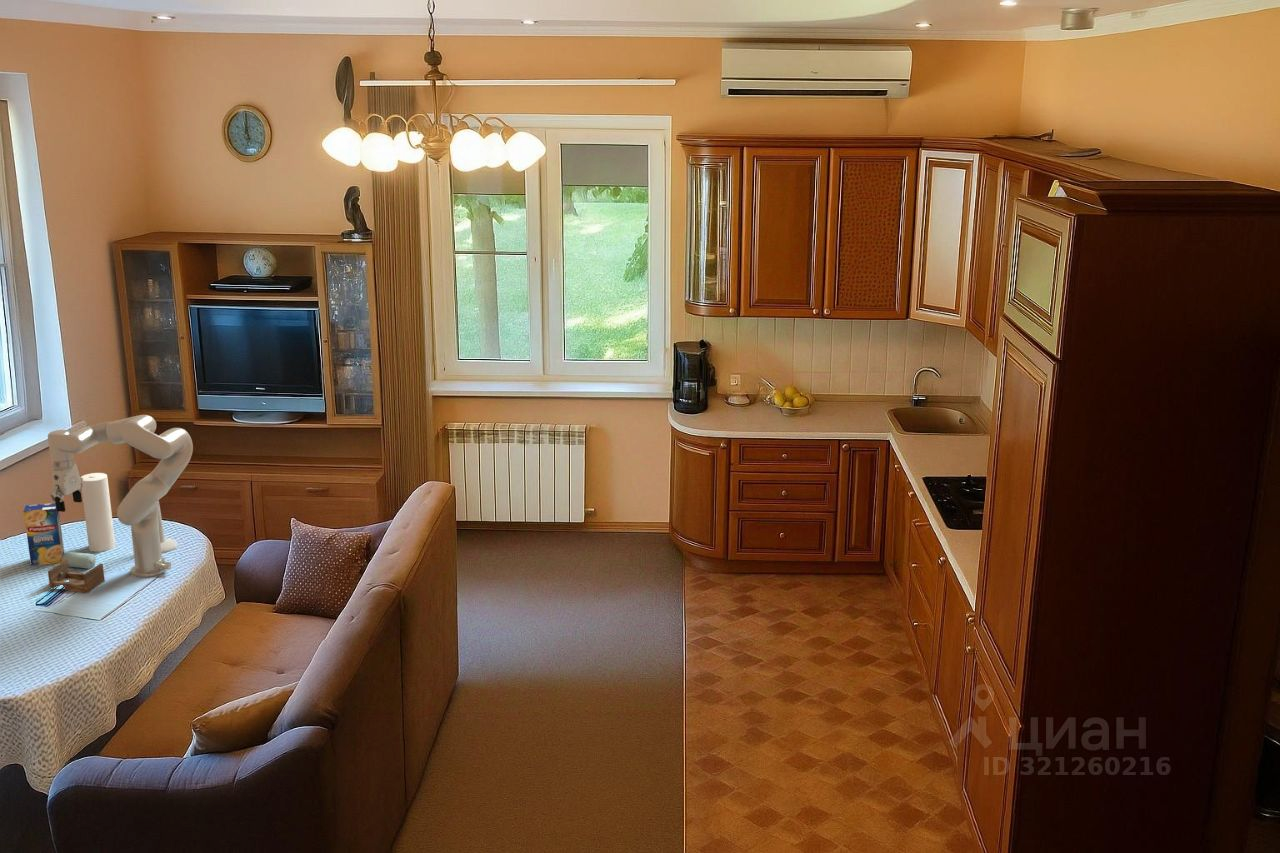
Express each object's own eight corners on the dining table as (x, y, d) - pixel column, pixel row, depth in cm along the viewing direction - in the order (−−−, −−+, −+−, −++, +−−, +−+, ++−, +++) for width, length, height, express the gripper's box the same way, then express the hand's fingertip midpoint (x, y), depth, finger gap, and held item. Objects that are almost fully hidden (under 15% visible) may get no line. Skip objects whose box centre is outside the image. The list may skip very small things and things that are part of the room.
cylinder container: (119, 543, 446) (111, 472, 437) (106, 552, 437) (98, 480, 428) (97, 541, 447) (89, 470, 438) (84, 550, 438) (75, 478, 429)
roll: (96, 565, 426) (94, 551, 424) (87, 571, 421) (85, 557, 419) (72, 562, 427) (70, 549, 426) (63, 568, 422) (61, 555, 420)
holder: (104, 581, 413) (102, 563, 411) (88, 592, 403) (85, 575, 401) (67, 577, 415) (65, 560, 413) (50, 588, 405) (47, 571, 403)
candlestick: (136, 550, 440) (128, 479, 431) (158, 538, 451) (151, 469, 442) (163, 555, 436) (155, 483, 427) (185, 543, 448) (178, 473, 439)
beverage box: (63, 562, 427) (56, 508, 421) (30, 565, 423) (23, 511, 417) (64, 555, 433) (58, 502, 427) (33, 558, 430) (25, 505, 423)
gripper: (57, 471, 403) (63, 515, 408) (87, 456, 420) (93, 499, 425) (38, 470, 405) (45, 514, 410) (68, 455, 421) (75, 497, 426)
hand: (69, 506), depth 417 cm, fingers open, 9 cm apart
